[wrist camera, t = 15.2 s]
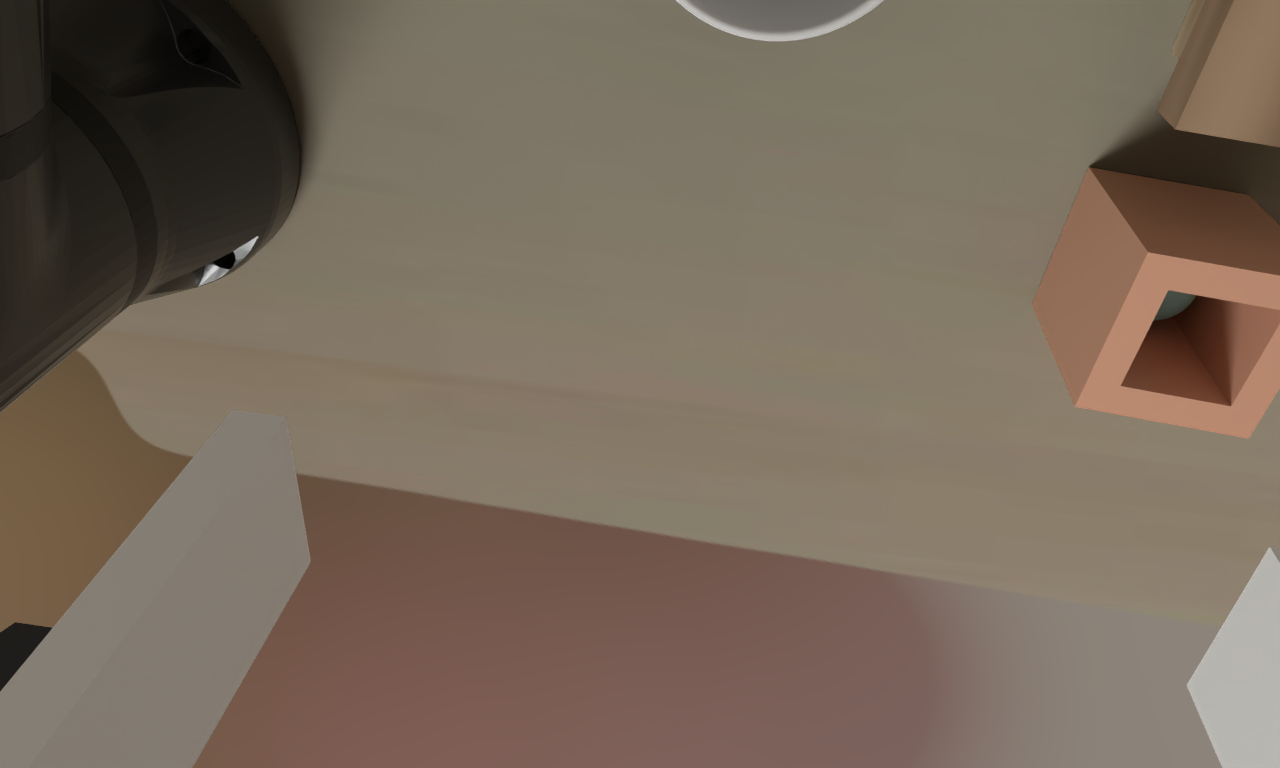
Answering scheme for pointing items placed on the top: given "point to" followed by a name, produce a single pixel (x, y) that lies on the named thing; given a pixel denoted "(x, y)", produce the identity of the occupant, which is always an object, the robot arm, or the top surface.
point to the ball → (1173, 304)
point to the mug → (779, 16)
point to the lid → (1229, 74)
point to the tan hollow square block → (1135, 288)
